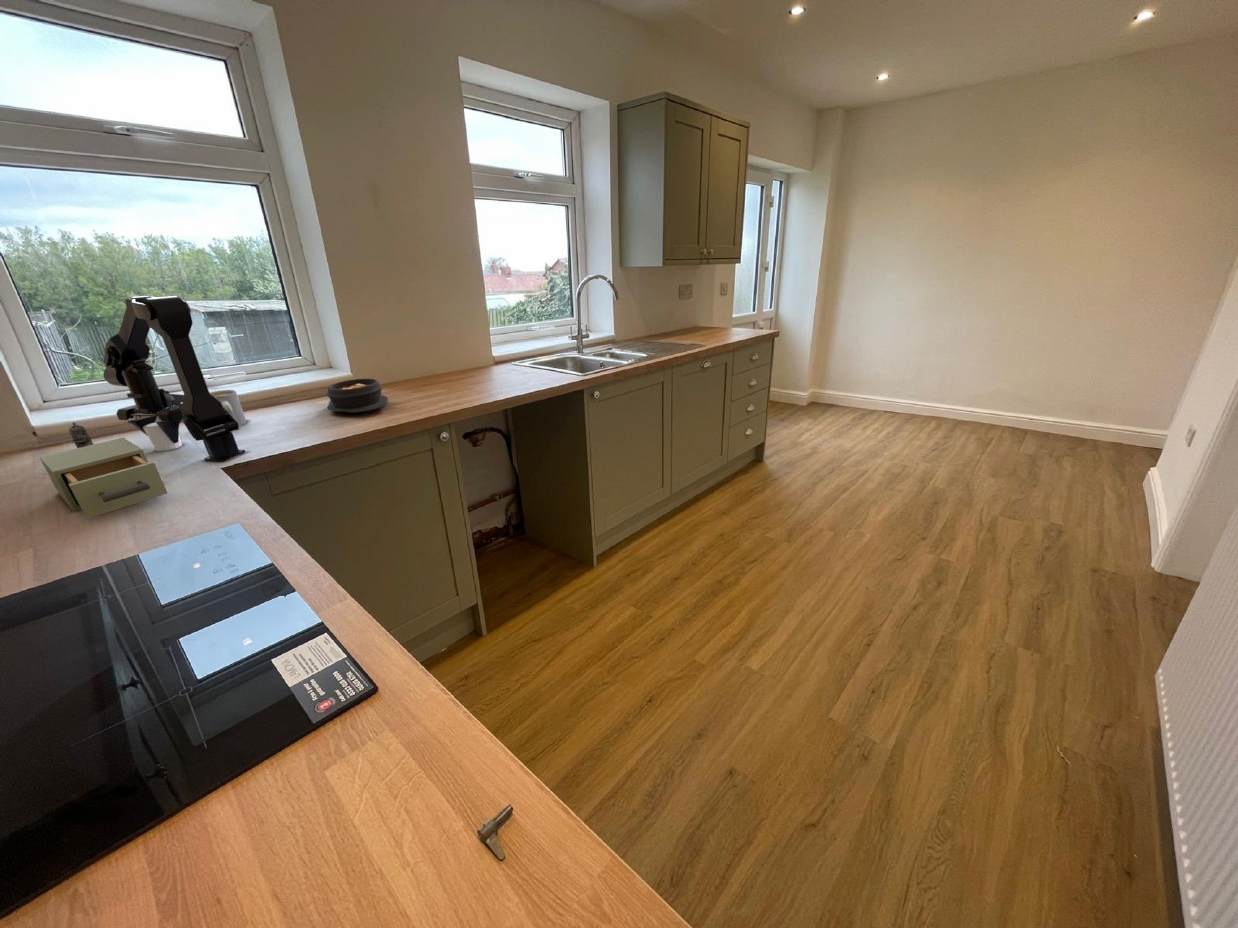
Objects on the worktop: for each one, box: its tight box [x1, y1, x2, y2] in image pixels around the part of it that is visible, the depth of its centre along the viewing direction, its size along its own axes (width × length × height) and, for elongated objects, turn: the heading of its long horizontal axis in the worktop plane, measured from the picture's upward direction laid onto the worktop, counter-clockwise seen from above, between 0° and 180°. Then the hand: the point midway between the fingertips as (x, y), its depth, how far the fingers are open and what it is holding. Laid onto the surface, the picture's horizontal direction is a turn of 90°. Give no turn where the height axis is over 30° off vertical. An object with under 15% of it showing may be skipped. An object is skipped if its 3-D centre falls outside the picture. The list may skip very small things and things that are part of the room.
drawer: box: [62, 455, 169, 519], centre depth 105 cm, size 19×13×7 cm
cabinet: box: [39, 437, 149, 512], centre depth 112 cm, size 16×14×9 cm
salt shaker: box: [68, 421, 95, 449], centre depth 126 cm, size 6×6×12 cm
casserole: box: [325, 378, 389, 414], centre depth 166 cm, size 25×19×8 cm
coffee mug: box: [208, 389, 247, 430], centre depth 154 cm, size 13×10×10 cm
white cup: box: [143, 421, 183, 452], centre depth 138 cm, size 7×7×7 cm
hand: (167, 442), depth 139 cm, fingers closed on white cup, 6 cm apart
